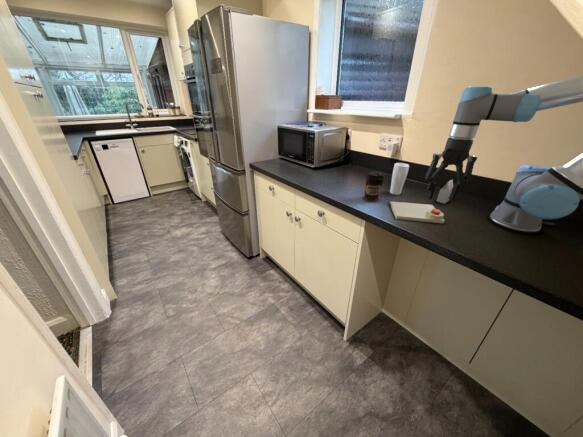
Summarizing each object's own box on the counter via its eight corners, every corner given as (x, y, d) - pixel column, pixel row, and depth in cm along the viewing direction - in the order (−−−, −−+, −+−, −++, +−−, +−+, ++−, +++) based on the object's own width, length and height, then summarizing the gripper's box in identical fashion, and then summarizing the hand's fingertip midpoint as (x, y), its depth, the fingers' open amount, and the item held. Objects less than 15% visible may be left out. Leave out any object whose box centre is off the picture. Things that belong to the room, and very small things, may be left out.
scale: (431, 207, 105) (433, 201, 104) (443, 223, 92) (446, 216, 91) (389, 204, 108) (391, 198, 107) (396, 219, 95) (397, 212, 94)
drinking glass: (402, 196, 116) (410, 167, 109) (388, 194, 118) (394, 165, 111) (401, 191, 122) (408, 163, 114) (387, 190, 123) (394, 162, 116)
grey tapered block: (436, 201, 111) (442, 181, 106) (441, 197, 115) (448, 178, 110) (444, 203, 109) (451, 183, 104) (449, 200, 113) (456, 180, 108)
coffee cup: (381, 204, 108) (387, 177, 102) (362, 202, 109) (367, 175, 103) (378, 196, 115) (384, 171, 109) (361, 195, 117) (365, 170, 111)
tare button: (437, 212, 95) (439, 208, 94) (440, 215, 92) (441, 212, 92) (429, 211, 95) (431, 208, 95) (432, 214, 93) (433, 211, 92)
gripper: (487, 137, 81) (464, 197, 92) (426, 135, 85) (410, 193, 96) (500, 141, 75) (473, 205, 86) (433, 138, 78) (415, 200, 89)
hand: (440, 198), depth 91 cm, fingers open, 7 cm apart
